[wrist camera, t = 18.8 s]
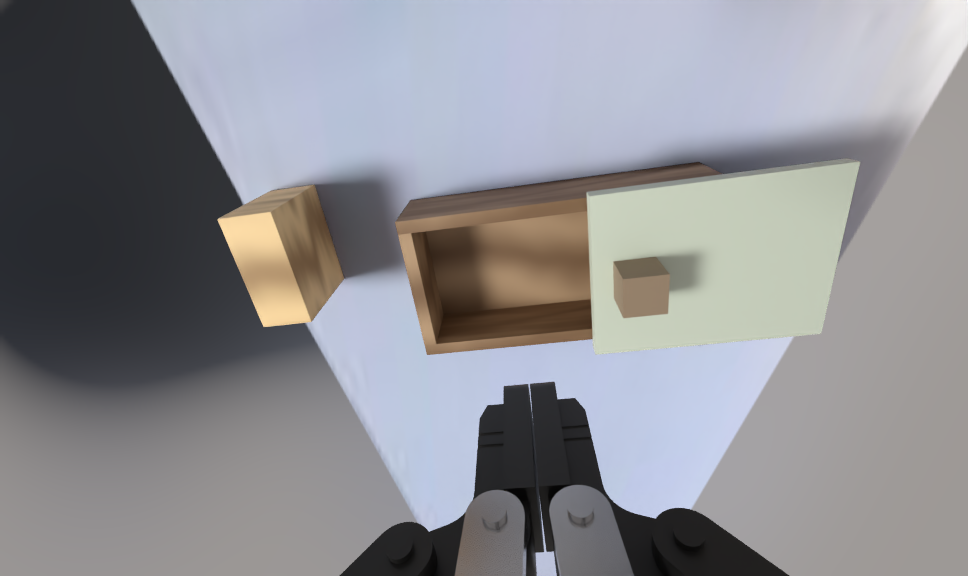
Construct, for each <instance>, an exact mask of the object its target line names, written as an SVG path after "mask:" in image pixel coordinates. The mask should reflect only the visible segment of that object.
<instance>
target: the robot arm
mask: <svg viewBox="0 0 968 576" xmlns="http://www.w3.org/2000/svg"><path fill="white" fill-rule="evenodd" d="M530 389H531V401H532V410H531V402H530V394H529V387H528V384H524V385H513V386H504V404H499V405H488V406H487V407H486V409H485V411H484V412H483V414H482V416H481V417H480V422H479V436H478V450H477V464H476V478H475V492H474V498H473V501H472V502H471V503H470V505H469V506H468V508H467V510H466V512H465V513H464V514H463V516H461V517H460V518H459V519H458V520H456V521H454V522H453V523H450V524H448V525H446V526H443V527H441V528H438V529H435V530H433V531H430V532H428V530H427V529H426V528H425V527H424V526H422V525H421V524H418V523H414V522H404V523H400V524H397V525H394V526H392V527H391V528H389V529H388V530H386V531H385V532H384V533H383V534H382V535H381V536H380V537H379V538H377V539H376V540H375V541H374V543H372V544H371V545H370V547H368V548H367V549H366V550H365V551H364V552H363V553H362V554H361V555H360V556H359V557H358V558H357V559H356V560H355V561H354V562H353V563H352V564H351V565H350V566H349V567H348V568H347V569H346V570H345V571H344V572H343V573H342V574H341V575H340V576H537V572H536V556H535V552H544V547H543V534H542V522H541V512H542V519H543V527H544V535H545V543H546V551H547V552H551V551H554V556H555V565H556V573H557V576H789V575H787V574H786V573H785V572H783V571H782V570H781V569H779V568H778V567H776V566H775V565H774V564H772V563H771V562H769V561H768V560H766V559H765V558H764V557H762V556H761V555H759V554H758V553H757V552H755V551H754V550H752V549H751V548H750V547H748V546H747V545H745V544H744V543H743V542H741V541H740V540H738V539H737V538H735V537H734V536H732V535H731V534H730V533H728V532H727V531H726V530H724V529H723V528H721V527H720V526H719V525H717V524H716V523H714V522H713V521H711V520H710V519H709V518H707V517H706V516H704V515H702V514H700V513H698V512H696V511H693V510H690V509H685V508H673V509H669V510H666V511H664V512H662V513H661V514H660V515H658V517H657V518H656V519H654V518H650V517H646V516H642V515H638V514H634V513H631V512H629V511H626V510H624V509H623V508H621V507H619V506H618V505H617V504H615V503H614V502H613V501H612V500H611V499H610V498H609V496H608V495H607V494H606V492H605V490H604V487H603V484H602V480H601V476H600V471H599V467H598V463H597V458H596V454H595V450H594V446H593V441H592V438H591V433H590V429H589V424H588V420H587V416H586V411H585V409H584V408H583V407H582V406H581V405H580V403H579V402H578V401H577V400H576V399H575V398H570V399H558V400H557V394H556V388H555V382H546V383H534V384H530ZM532 414H533V418H532ZM539 496H540V497H539ZM540 504H541V509H540Z"/></svg>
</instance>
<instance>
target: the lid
mask: <svg viewBox="0 0 968 576" xmlns="http://www.w3.org/2000/svg"><path fill="white" fill-rule="evenodd" d="M859 165H860V161H856V160H852V159H849V158H844V159H837V160H829V161H821V162H813V163H806V164H798V165H790V166H782V167H775V168H767V169H759V170H752V171H744V172H736V173H728V174H721V175H713V176H705V177H697V178H690V179H682V180H674V181H667V182H659V183H651V184H643V185H636V186H628V187H620V188H612V189H605V190H597V191H589V192H587V216H588V240H589V264H590V288H591V312H592V336H593V348H594V351H595V354H607V353H618V352H629V351H640V350H651V349H661V348H672V347H683V346H694V345H705V344H716V343H727V342H737V341H748V340H759V339H770V338H781V337H792V336H803V335H813V334H821V332H822V328H823V323H824V319H825V314H826V310H827V305H828V301H829V297H830V292H831V288H832V284H833V279H834V275H835V271H836V266H837V262H838V257H839V253H840V249H841V244H842V240H843V235H844V231H845V227H846V222H847V218H848V214H849V209H850V205H851V200H852V196H853V192H854V187H855V183H856V178H857V174H858V170H859Z"/></svg>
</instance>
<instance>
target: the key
mask: <svg viewBox="0 0 968 576" xmlns="http://www.w3.org/2000/svg"><path fill="white" fill-rule="evenodd" d="M218 222H219V224H220V226H221V229H222V231H223V233H224V236H225V238H226V240H227V243H228V245H229V247H230V250H231V252H232V254H233V256H234V259H235V261H236V263H237V266H238V268H239V270H240V273H241V275H242V277H243V280H244V282H245V284H246V287H247V289H248V291H249V294H250V296H251V298H252V301H253V303H254V305H255V308H256V310H257V312H258V315H259V317H260V319H261V322H262V324H263V326H264V327H269V326H278V325H287V324H296V323H305V322H312V320H313V319H314V318H315V316H316V315H317V314H318V312H319V311H320V310H321V309H322V307H323V306H324V305H325V303H326V302H327V301H328V299H329V298H330V297H331V295H332V294H333V293H334V291H335V290H336V289H337V287H338V286H339V285H340V283H341V282H342V281H343V279H344V276H343V273H342V270H341V267H340V264H339V260H338V257H337V254H336V251H335V248H334V245H333V242H332V238H331V235H330V232H329V229H328V226H327V223H326V219H325V216H324V213H323V210H322V207H321V204H320V200H319V197H318V194H317V191H316V188H315V185H308V186H301V187H294V188H287V189H280V190H273V191H270V192H268V193H266V194H264V195H262V196H260V197H258V198H256V199H254V200H253V201H251V202H249V203H247V204H245V205H243V206H241V207H239V208H238V209H236V210H234V211H232V212H230V213H228V214H226V215H224V216H223V217H221V218H219V219H218Z"/></svg>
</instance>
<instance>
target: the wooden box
mask: <svg viewBox="0 0 968 576" xmlns="http://www.w3.org/2000/svg"><path fill="white" fill-rule="evenodd" d="M721 174H722V173H720V172H718V171H716V170H714V169H712V168H710V167H708V166H706V165H704V164H702V163H700V162H696V163H688V164H681V165H673V166H666V167H658V168H650V169H643V170H635V171H628V172H620V173H613V174H605V175H598V176H590V177H583V178H575V179H568V180H560V181H553V182H545V183H537V184H530V185H522V186H515V187H507V188H500V189H492V190H485V191H477V192H470V193H462V194H455V195H447V196H440V197H432V198H424V199H417V200H410V202H409V203H408V204H407V206H406V207H405V209H404V210H403V212H402V213H401V214H400V216H399V217H398V219H397V220H396V221H395V224H396V229H397V233H398V237H399V241H400V245H401V249H402V253H403V257H404V262H405V266H406V270H407V274H408V278H409V282H410V286H411V290H412V295H413V299H414V303H415V307H416V311H417V315H418V319H419V323H420V327H421V332H422V336H423V340H424V344H425V348H426V352H427V355H431V354H442V353H452V352H462V351H473V350H483V349H494V348H504V347H515V346H525V345H536V344H546V343H556V342H567V341H577V340H588V339H593V336H592V312H591V288H590V264H589V240H588V216H587V192H589V191H597V190H605V189H612V188H620V187H628V186H636V185H643V184H651V183H659V182H667V181H674V180H682V179H690V178H697V177H705V176H713V175H721Z"/></svg>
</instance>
